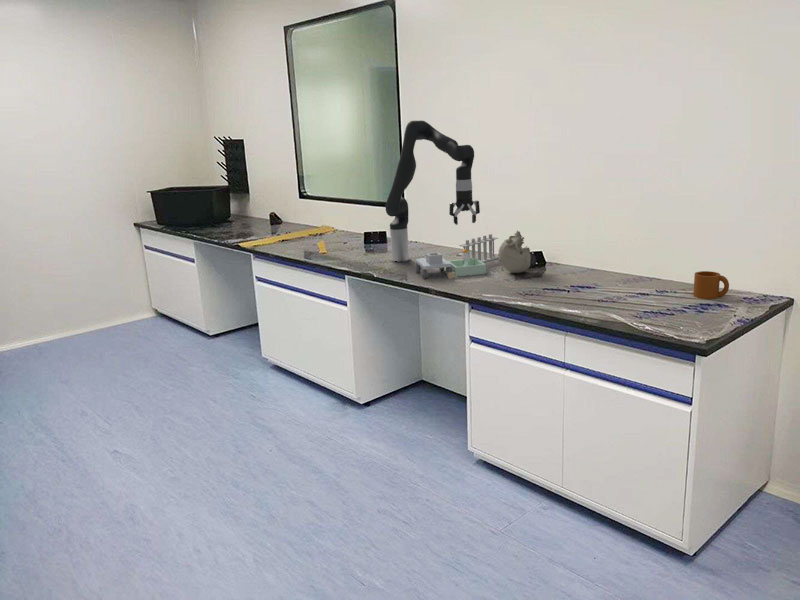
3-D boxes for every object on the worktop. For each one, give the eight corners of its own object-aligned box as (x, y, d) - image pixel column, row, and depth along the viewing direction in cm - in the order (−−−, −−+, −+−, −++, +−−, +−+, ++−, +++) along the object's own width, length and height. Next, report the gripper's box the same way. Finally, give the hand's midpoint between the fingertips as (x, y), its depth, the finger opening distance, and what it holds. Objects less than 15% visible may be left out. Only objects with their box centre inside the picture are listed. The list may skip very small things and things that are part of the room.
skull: (530, 276, 286) (530, 233, 281) (497, 276, 290) (497, 233, 284) (530, 269, 298) (530, 228, 293) (499, 269, 301) (498, 228, 296)
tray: (447, 269, 307) (446, 261, 306) (475, 266, 310) (475, 257, 309) (455, 276, 293) (455, 267, 292) (486, 273, 296) (486, 264, 295)
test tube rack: (466, 268, 309) (465, 241, 306) (459, 266, 313) (459, 240, 309) (498, 258, 325) (498, 233, 321) (492, 257, 328) (491, 232, 325)
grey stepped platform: (415, 271, 308) (414, 250, 305) (443, 268, 310) (442, 247, 307) (425, 281, 288) (424, 259, 286) (455, 277, 291) (454, 255, 288)
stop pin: (462, 269, 302) (461, 249, 300) (467, 269, 303) (467, 249, 300) (464, 271, 300) (463, 250, 297) (469, 270, 300) (469, 250, 297)
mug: (723, 301, 234) (725, 278, 231) (690, 297, 241) (691, 275, 239) (730, 295, 240) (732, 273, 237) (697, 291, 248) (698, 269, 245)
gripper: (476, 187, 295) (476, 221, 300) (447, 189, 293) (448, 223, 297) (481, 188, 288) (481, 223, 293) (451, 191, 286) (452, 226, 290)
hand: (464, 223), depth 295 cm, fingers open, 8 cm apart
